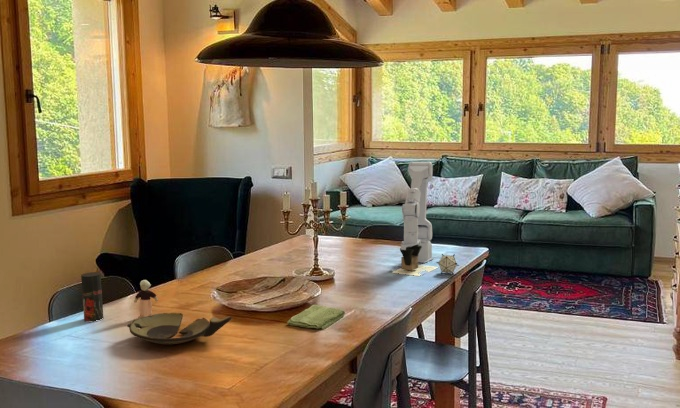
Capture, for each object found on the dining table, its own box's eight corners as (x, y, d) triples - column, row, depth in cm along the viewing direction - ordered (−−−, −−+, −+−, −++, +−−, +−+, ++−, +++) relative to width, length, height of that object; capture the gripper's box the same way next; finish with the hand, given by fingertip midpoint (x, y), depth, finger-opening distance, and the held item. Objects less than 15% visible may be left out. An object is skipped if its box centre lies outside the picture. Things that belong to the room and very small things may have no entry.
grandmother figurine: (134, 320, 215) (132, 282, 214) (134, 317, 219) (132, 279, 217) (159, 318, 217) (157, 280, 216) (159, 314, 221) (157, 277, 219)
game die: (451, 281, 273) (465, 261, 273) (448, 279, 265) (462, 258, 265) (433, 269, 276) (447, 249, 277) (429, 266, 269) (444, 246, 269)
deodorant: (107, 318, 218) (104, 273, 217) (92, 322, 213) (89, 277, 211) (95, 315, 222) (92, 271, 220) (80, 320, 216) (77, 275, 214)
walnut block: (407, 266, 281) (406, 255, 280) (417, 267, 278) (417, 256, 277) (401, 269, 277) (401, 257, 276) (412, 270, 274) (412, 258, 273)
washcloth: (284, 327, 208) (284, 317, 207) (313, 311, 223) (313, 302, 222) (321, 333, 201) (321, 322, 201) (348, 317, 217) (348, 307, 216)
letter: (411, 264, 289) (411, 263, 289) (438, 267, 282) (438, 267, 282) (391, 272, 274) (391, 272, 274) (419, 276, 267) (419, 276, 267)
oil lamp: (165, 323, 212) (164, 300, 211) (242, 337, 198) (241, 312, 197) (111, 345, 192) (109, 320, 191) (192, 362, 178) (190, 334, 177)
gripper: (410, 228, 283) (410, 259, 285) (393, 233, 271) (394, 266, 273) (425, 229, 279) (425, 261, 281) (409, 235, 267) (409, 268, 269)
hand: (410, 263), depth 277 cm, fingers closed on walnut block, 5 cm apart
